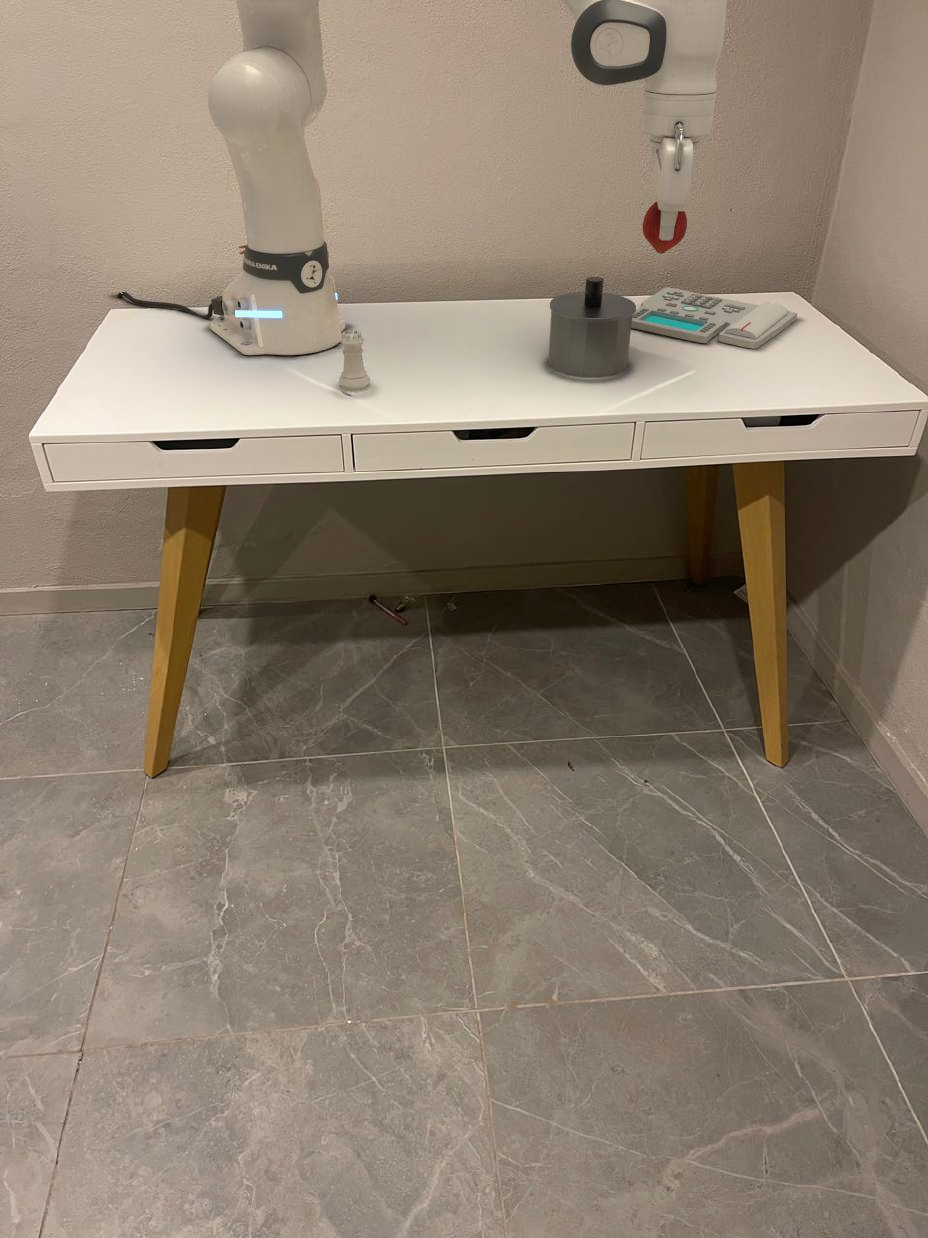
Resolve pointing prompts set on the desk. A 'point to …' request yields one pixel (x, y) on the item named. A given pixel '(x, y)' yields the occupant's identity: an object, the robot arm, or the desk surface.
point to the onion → (653, 225)
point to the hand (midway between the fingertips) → (664, 231)
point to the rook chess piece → (353, 364)
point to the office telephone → (711, 318)
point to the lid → (593, 304)
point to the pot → (589, 346)
